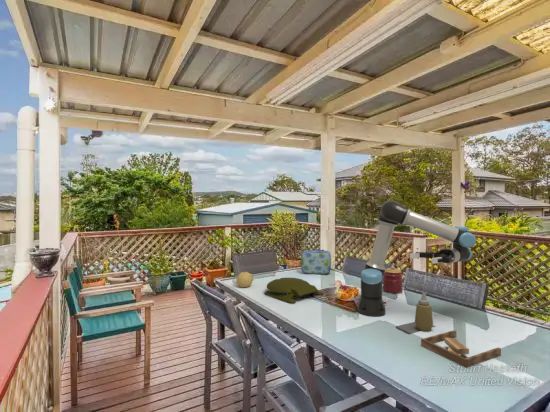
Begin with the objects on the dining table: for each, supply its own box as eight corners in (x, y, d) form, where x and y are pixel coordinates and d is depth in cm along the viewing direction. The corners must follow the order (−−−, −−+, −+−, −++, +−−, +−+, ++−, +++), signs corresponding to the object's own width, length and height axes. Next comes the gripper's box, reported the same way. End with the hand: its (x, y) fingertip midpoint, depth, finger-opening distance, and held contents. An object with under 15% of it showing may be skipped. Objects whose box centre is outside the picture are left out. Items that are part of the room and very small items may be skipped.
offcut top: (457, 353, 125) (457, 348, 125) (444, 342, 135) (444, 337, 135) (468, 353, 125) (468, 348, 125) (455, 342, 135) (455, 337, 135)
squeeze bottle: (411, 326, 158) (411, 290, 158) (426, 325, 159) (427, 290, 159) (420, 333, 150) (420, 295, 150) (436, 332, 151) (436, 294, 151)
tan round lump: (255, 285, 240) (255, 271, 239) (245, 289, 229) (245, 274, 229) (243, 283, 246) (243, 269, 246) (233, 287, 236) (233, 272, 235)
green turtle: (325, 295, 215) (325, 281, 215) (291, 305, 195) (291, 289, 195) (290, 285, 242) (290, 272, 242) (257, 292, 222) (257, 278, 222)
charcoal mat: (421, 321, 166) (421, 320, 166) (453, 334, 150) (453, 333, 150) (395, 327, 159) (395, 326, 159) (426, 342, 142) (426, 340, 142)
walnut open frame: (454, 338, 146) (454, 330, 146) (500, 358, 128) (501, 348, 128) (421, 348, 137) (421, 339, 137) (466, 370, 119) (466, 360, 119)
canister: (402, 289, 227) (402, 264, 226) (403, 294, 214) (403, 268, 214) (383, 287, 231) (382, 263, 231) (382, 292, 219) (382, 267, 218)
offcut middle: (446, 356, 127) (446, 351, 127) (451, 346, 136) (451, 341, 136) (459, 359, 125) (460, 354, 125) (463, 349, 133) (463, 344, 133)
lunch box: (331, 272, 281) (331, 248, 281) (331, 275, 271) (331, 250, 270) (301, 271, 286) (301, 248, 285) (300, 274, 275) (300, 250, 275)
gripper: (470, 267, 163) (442, 270, 154) (428, 258, 185) (402, 261, 176) (471, 252, 163) (442, 255, 154) (429, 245, 185) (402, 247, 176)
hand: (420, 258), depth 165 cm, fingers open, 13 cm apart
